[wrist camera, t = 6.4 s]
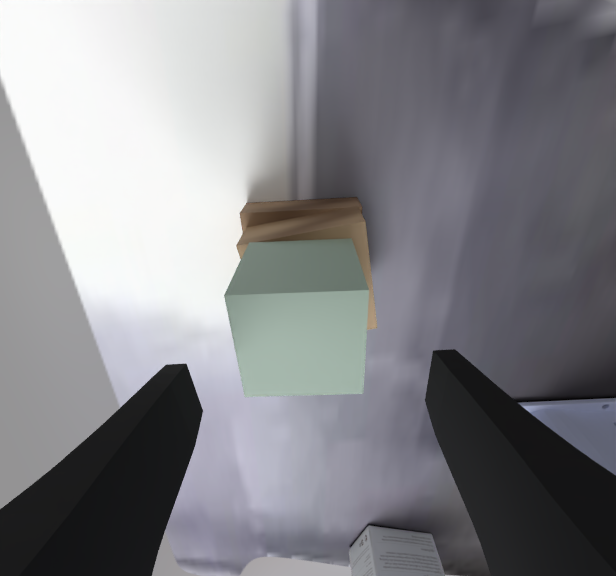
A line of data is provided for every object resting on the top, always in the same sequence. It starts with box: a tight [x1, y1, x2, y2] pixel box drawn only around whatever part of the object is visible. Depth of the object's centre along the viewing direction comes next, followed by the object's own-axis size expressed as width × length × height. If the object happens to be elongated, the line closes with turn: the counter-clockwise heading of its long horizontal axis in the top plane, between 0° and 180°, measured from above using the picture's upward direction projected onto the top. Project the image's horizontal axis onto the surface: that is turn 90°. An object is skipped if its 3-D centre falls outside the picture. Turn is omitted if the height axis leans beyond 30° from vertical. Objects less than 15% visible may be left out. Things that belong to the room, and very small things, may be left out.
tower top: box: [237, 206, 377, 330], centre depth 16 cm, size 6×6×2 cm
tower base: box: [240, 197, 362, 232], centre depth 18 cm, size 6×6×2 cm
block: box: [224, 238, 369, 397], centre depth 12 cm, size 4×4×4 cm
